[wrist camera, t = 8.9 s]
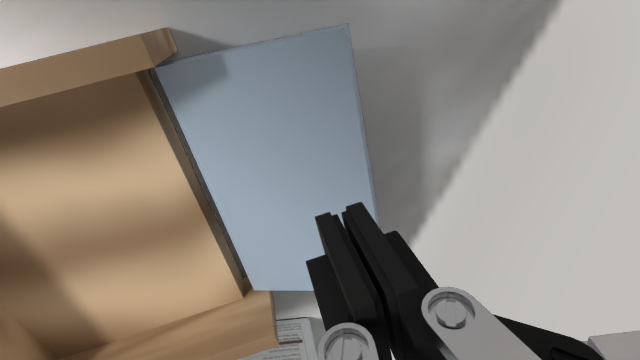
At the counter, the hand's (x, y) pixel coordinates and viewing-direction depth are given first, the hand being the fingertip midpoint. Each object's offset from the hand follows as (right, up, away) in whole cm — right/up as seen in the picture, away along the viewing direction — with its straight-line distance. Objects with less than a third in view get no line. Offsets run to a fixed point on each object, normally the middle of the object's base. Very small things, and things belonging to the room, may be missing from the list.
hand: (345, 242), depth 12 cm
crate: (-12, 0, +6) cm, 14 cm away
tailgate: (-6, +1, +6) cm, 9 cm away
